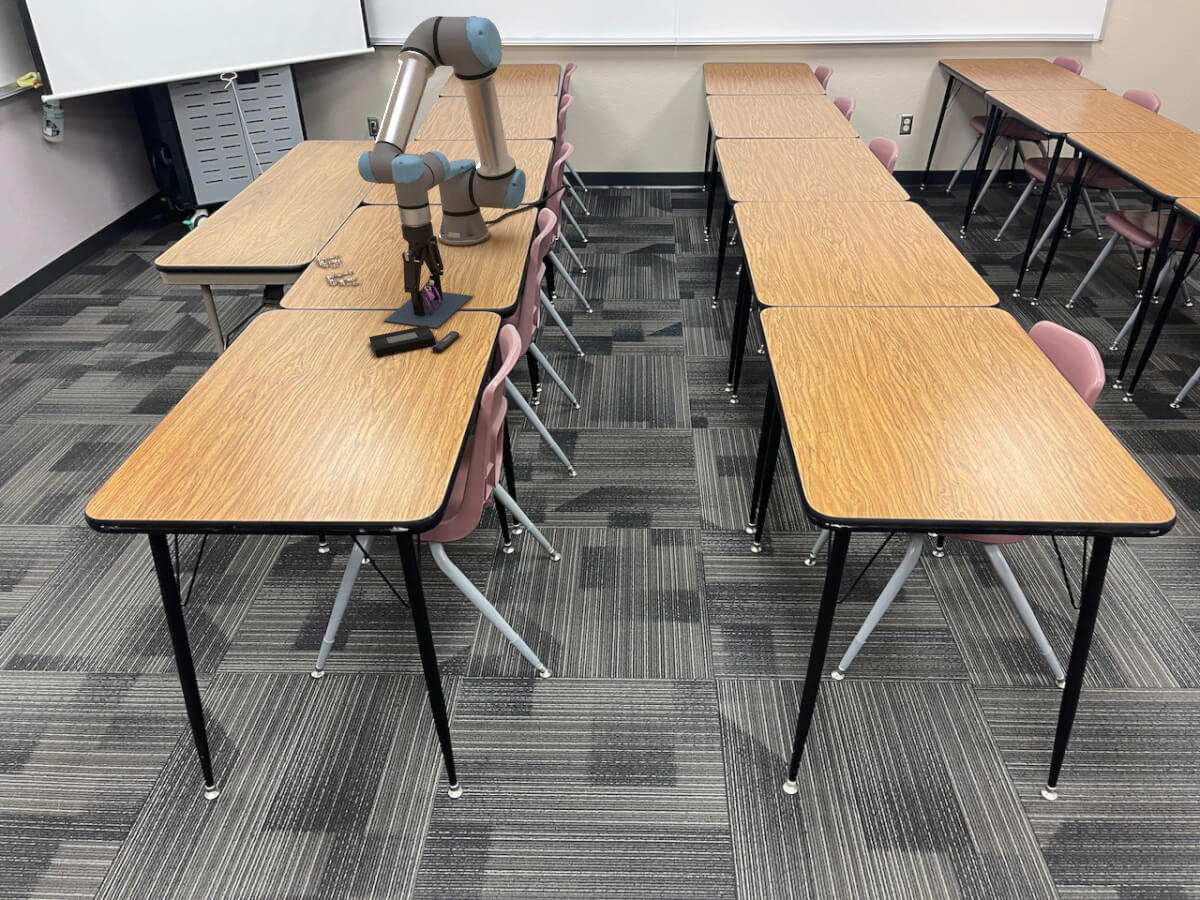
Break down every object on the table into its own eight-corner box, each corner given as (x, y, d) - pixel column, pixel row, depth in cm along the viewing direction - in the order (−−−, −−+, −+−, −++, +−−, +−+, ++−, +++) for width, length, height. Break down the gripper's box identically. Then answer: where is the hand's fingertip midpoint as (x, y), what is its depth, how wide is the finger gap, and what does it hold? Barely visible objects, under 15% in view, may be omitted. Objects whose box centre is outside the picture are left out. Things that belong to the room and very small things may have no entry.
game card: (422, 291, 204) (433, 277, 212) (404, 296, 206) (416, 282, 213) (434, 314, 208) (444, 300, 215) (417, 319, 209) (427, 305, 217)
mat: (422, 291, 222) (421, 289, 222) (471, 297, 218) (471, 295, 218) (384, 322, 207) (384, 320, 206) (437, 328, 203) (437, 327, 202)
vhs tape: (370, 344, 196) (369, 336, 195) (428, 332, 201) (427, 325, 200) (376, 357, 191) (375, 349, 190) (436, 345, 195) (435, 337, 194)
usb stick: (441, 353, 192) (440, 348, 191) (431, 352, 192) (430, 346, 192) (460, 336, 199) (460, 331, 198) (451, 335, 200) (450, 329, 199)
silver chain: (340, 255, 246) (339, 251, 245) (357, 284, 227) (356, 279, 226) (316, 260, 243) (315, 255, 242) (332, 289, 224) (330, 284, 223)
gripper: (423, 207, 209) (435, 289, 222) (379, 236, 192) (394, 322, 204) (450, 209, 207) (460, 292, 220) (407, 238, 190) (421, 326, 202)
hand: (428, 306), depth 212 cm, fingers closed on game card, 9 cm apart
